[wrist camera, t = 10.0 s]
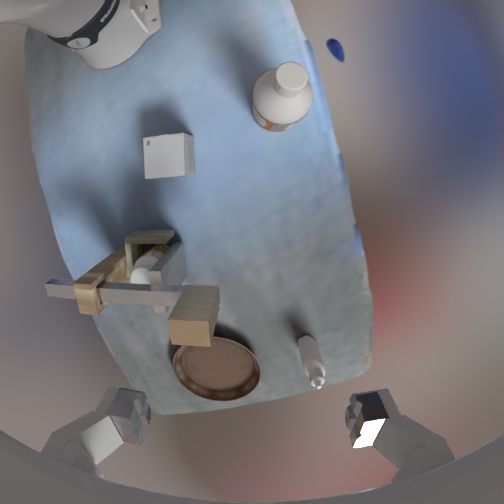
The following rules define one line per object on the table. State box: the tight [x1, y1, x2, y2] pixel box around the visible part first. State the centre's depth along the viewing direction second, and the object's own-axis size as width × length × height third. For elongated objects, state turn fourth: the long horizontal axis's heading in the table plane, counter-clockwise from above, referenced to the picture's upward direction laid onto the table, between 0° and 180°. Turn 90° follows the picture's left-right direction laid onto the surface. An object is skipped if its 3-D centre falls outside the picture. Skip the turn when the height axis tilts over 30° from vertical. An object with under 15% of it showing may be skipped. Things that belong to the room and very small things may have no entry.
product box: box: [143, 132, 195, 179], centre depth 38 cm, size 6×6×7 cm
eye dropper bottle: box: [298, 335, 326, 389], centre depth 47 cm, size 4×6×12 cm
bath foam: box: [252, 62, 313, 133], centre depth 30 cm, size 7×7×20 cm
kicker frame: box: [73, 229, 174, 315], centre depth 39 cm, size 10×10×17 cm
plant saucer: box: [173, 336, 261, 401], centre depth 53 cm, size 18×18×3 cm
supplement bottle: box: [131, 244, 170, 284], centre depth 43 cm, size 5×5×10 cm
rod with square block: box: [45, 243, 220, 347], centre depth 36 cm, size 6×26×21 cm, turn 90°
